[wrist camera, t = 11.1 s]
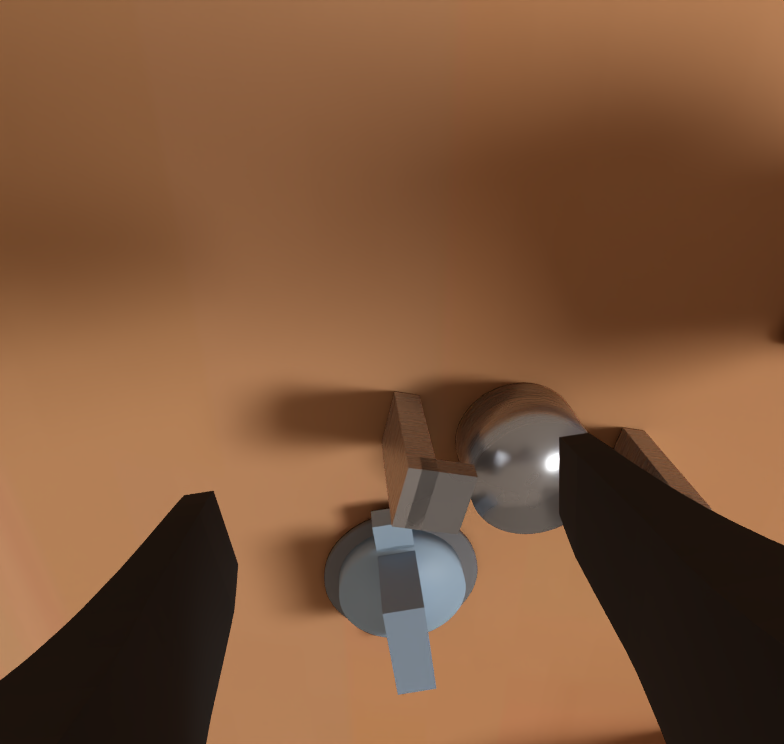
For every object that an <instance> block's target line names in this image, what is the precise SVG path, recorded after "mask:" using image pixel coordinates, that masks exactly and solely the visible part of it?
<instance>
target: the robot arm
mask: <svg viewBox="0 0 784 744" xmlns="http://www.w3.org/2000/svg"><path fill="white" fill-rule="evenodd" d="M559 515H560V518H561V521H562V523H563V526H564V529H565V531H566V534H567V537H568V539H569V542H570V544H571V547H572V549H573V552H574V555H575V557H576V559H577V561H578V563H579V565H580V567H581V568H582V570H583V572H584V574H585V576H586V578H587V580H588V582H589V583H590V585H591V587H592V589H593V591H594V593H595V595H596V596H597V598H598V600H599V602H600V604H601V606H602V608H603V609H604V611H605V613H606V615H607V617H608V619H609V620H610V622H611V624H612V626H613V628H614V630H615V632H616V633H617V635H618V637H619V639H620V641H621V643H622V644H623V646H624V648H625V650H626V652H627V654H628V656H629V658H630V660H631V662H632V664H633V666H634V668H635V670H636V672H637V674H638V677H639V679H640V681H641V684H642V686H643V688H644V691H645V693H646V696H647V698H648V700H649V703H650V705H651V707H652V710H653V712H654V715H655V717H656V719H657V722H658V724H659V727H660V729H661V732H662V734H663V737H664V739H665V742H666V744H784V545H782V544H780V543H777V542H775V541H773V540H770V539H768V538H766V537H764V536H762V535H760V534H758V533H756V532H753V531H751V530H749V529H747V528H745V527H743V526H741V525H739V524H737V523H735V522H733V521H731V520H729V519H727V518H725V517H723V516H721V515H719V514H717V513H715V512H714V511H712V510H710V509H708V508H706V507H705V506H703V505H701V504H699V503H698V502H696V501H694V500H692V499H690V498H689V497H687V496H685V495H684V494H682V493H680V492H679V491H677V490H675V489H674V488H672V487H670V486H669V485H667V484H665V483H664V482H662V481H661V480H659V479H657V478H656V477H654V476H653V475H651V474H650V473H648V472H647V471H645V470H643V469H642V468H640V467H639V466H637V465H636V464H634V463H633V462H631V461H630V460H628V459H627V458H625V457H624V456H622V455H621V454H620V453H618V452H617V451H615V450H614V449H612V448H611V447H609V446H608V445H606V444H605V443H603V442H602V441H600V440H599V439H597V438H596V437H594V436H593V435H591V434H590V433H583V434H576V435H570V436H563V437H559ZM237 572H238V563H237V560H236V557H235V554H234V551H233V548H232V545H231V542H230V539H229V536H228V533H227V530H226V527H225V524H224V521H223V518H222V515H221V512H220V509H219V506H218V503H217V500H216V497H215V494H214V491H209V492H203V493H196V494H190V495H184V496H183V497H182V498H181V499H180V500H179V502H178V503H177V504H176V505H175V506H174V507H173V508H172V510H171V511H170V512H169V513H168V514H167V515H166V517H165V518H164V519H163V520H162V521H161V522H160V524H159V525H158V526H157V527H156V528H155V530H154V531H153V532H152V533H151V534H150V535H149V537H148V538H147V539H146V540H145V541H144V542H143V543H142V545H141V546H140V547H139V548H138V549H137V550H136V551H135V553H134V554H133V555H132V556H131V557H130V558H129V559H128V561H127V562H126V563H125V564H124V565H123V566H122V567H121V569H120V570H119V571H118V572H117V573H116V574H115V575H114V576H113V577H112V578H111V579H110V580H109V581H108V582H107V583H106V584H105V585H104V586H103V587H102V588H101V590H100V591H99V592H98V593H97V594H96V595H95V596H94V597H93V598H92V599H91V600H90V601H89V602H88V603H87V604H86V605H85V606H84V607H83V608H82V609H81V610H80V611H79V612H78V613H77V614H76V615H75V616H74V617H73V618H72V619H71V620H70V621H69V622H68V623H67V624H66V625H65V626H64V627H63V628H61V629H60V630H59V631H58V632H57V633H56V634H55V635H54V636H53V637H51V638H50V639H49V640H48V641H47V642H46V643H45V644H44V645H43V646H41V647H40V648H39V649H38V650H37V651H36V652H35V653H33V654H32V655H31V656H30V657H29V658H28V659H26V660H25V661H24V662H23V663H22V664H20V665H19V666H18V667H17V668H15V669H14V670H13V671H12V672H10V673H9V674H8V675H7V676H5V677H4V678H3V679H2V680H0V744H206V741H207V736H208V730H209V725H210V719H211V715H212V710H213V706H214V701H215V697H216V692H217V688H218V683H219V679H220V674H221V670H222V665H223V661H224V656H225V652H226V647H227V642H228V638H229V633H230V628H231V624H232V619H233V614H234V607H235V597H236V586H237Z"/></svg>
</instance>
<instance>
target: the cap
mask: <svg viewBox="0 0 784 744" xmlns="http://www.w3.org/2000/svg"><path fill="white" fill-rule="evenodd" d="M371 519H372V529H373V534H374V536H372V537H370V538H368V539H366V540H364V541H363V542H361V543H360V544H358V545H357V546H356V547H355V548H354V549H353V550H352V551H351V552H350V553H349V554H348V555H347V557H346V558H345V560H344V562H343V564H342V566H341V569H340V574H339V600H340V605H341V608H342V611H343V612H344V614H345V616H346V617H347V618H348V620H349V621H350V622H351V623H353V624H354V625H355V626H356V627H358V628H359V629H361V630H363V631H365V632H367V633H370V634H373V635H376V636H381V637H387V640H388V645H389V650H390V655H391V661H392V666H393V671H394V676H395V682H396V687H397V692H398V695H399V694H405V693H411V692H418V691H424V690H430V689H436V684H435V677H434V670H433V663H432V656H431V649H430V642H429V635H428V632H429V631H432V630H434V629H436V628H438V627H439V626H441V625H442V624H444V623H445V622H447V621H448V620H449V619H450V618H451V617H452V616H453V615H454V614H455V613H456V612H457V610H458V609H459V608H460V606H461V604H462V602H463V599H464V596H465V591H466V583H465V578H464V574H463V570H462V566H461V562H460V559H459V557H458V555H457V553H456V551H455V550H454V549H453V547H452V546H451V545H450V544H449V543H447V542H446V541H445V540H443V539H442V538H440V537H438V536H436V535H434V534H432V533H429V532H425V531H421V530H414V529H407V528H399V527H392V525H391V517H390V509H384V510H377V511H371Z"/></svg>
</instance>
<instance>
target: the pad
mask: <svg viewBox="0 0 784 744" xmlns="http://www.w3.org/2000/svg"><path fill="white" fill-rule="evenodd" d="M414 530H416V529H414ZM421 531H424V530H421ZM425 532H429V533H432V534H434V535H436V536H438V537H440V538H442V539H443V540H445V541H446V542H447V543H449V544H450V545H451V546H452V547H453V549H454V550H455V551H456V553H457V555H458V557H459V559H460V562H461V566H462V570H463V574H464V578H465V583H466V591H465V596H464V599H463V602H464V601H465V600H466V599H467V597H468V596H469V594H470V593H471V591H472V589H473V587H474V585H475V581H476V578H477V560H476V556H475V553H474V550H473V547H472V545H471V543H470V542H469V540H468V539H467V537H466V536H465V535H464V534H463V533H462V532H461V531H460V530H459V533H458V534H450V533H441V532H433V531H425ZM372 536H374V534H373V529H372V519H370V520H368V521H366V522H363V523H361V524H359V525H358V526H356V527H355V528H353V529H351V530H350V531H349V532H347V533H346V534H345V535H344V536H343V537H342V538H341V539H340V540H339V541H338V542H337V543H336V545H335V546H334V547H333V549H332V550H331V552H330V554H329V556H328V559H327V562H326V566H325V576H324V578H325V588H326V592H327V595H328V597H329V599H330V601H331V602H332V604H333V606H334V607H335V608H336V609H337V610H338V611H339V612H340V613H341V614H342V615H343V616H345V614H344V612H343V611H342V608H341V605H340V600H339V574H340V569H341V566H342V564H343V562H344V560H345V558H346V557H347V555H348V554H349V553H350V552H351V551H352V550H353V549H354V548H355V547H356V546H357V545H358V544H360V543H361V542H363V541H364V540H366V539H368V538H370V537H372ZM463 602H462V604H463ZM462 604H461V605H462ZM345 617H346V616H345ZM346 618H347V617H346Z"/></svg>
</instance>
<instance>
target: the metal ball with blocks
mask: <svg viewBox="0 0 784 744" xmlns="http://www.w3.org/2000/svg"><path fill="white" fill-rule="evenodd" d="M583 433H588V432H587V431H586V429H585V428H584V426H583V425H582V423H581V422H580V421H579V419H578V418H577V416H576V415H575V413H574V412H573V411H572V409H571V408H570V406H569V405H568V403H567V402H566V401H565V400H564V399H563V398H562V396H560V395H559V394H558V393H556V392H555V391H553V390H551V389H549V388H547V387H544V386H541V385H537V384H530V383H517V384H510V385H506V386H502V387H500V388H497V389H494V390H492V391H490V392H488V393H487V394H485V395H484V396H482V397H481V398H479V399H478V400H477V401H476V402H474V403H473V404H472V405H471V407H470V408H469V409H468V410H467V411H466V413H465V414H464V416H463V417H462V419H461V421H460V423H459V426H458V428H457V432H456V440H455V444H456V451H457V455H458V459H459V462H453V461H446V460H439V459H436V458H435V454H434V450H433V446H432V442H431V439H430V435H429V431H428V427H427V423H426V419H425V415H424V411H423V408H422V404H421V400H420V396H419V395H414V394H407V393H401V392H394V395H393V399H392V403H391V407H390V411H389V415H388V419H387V423H386V427H385V431H384V435H383V439H382V451H383V460H384V468H385V476H386V484H387V492H388V500H389V508H390V517H391V525H392V527H399V528H407V529H416V530H424V531H433V532H441V533H450V534H458V533H459V530H460V528H461V525H462V522H463V519H464V516H465V513H466V510H467V507H468V505H469V502H470V499H471V500H472V502H473V505H474V507H475V509H476V510H477V512H478V514H479V515H480V516H481V517H482V518H483V519H484V520H485V521H486V522H488V523H489V524H491V525H492V526H494V527H496V528H498V529H501V530H504V531H507V532H511V533H518V534H533V533H541V532H545V531H549V530H552V529H555V528H558V527H560V526H562V525H563V523H562V521H561V518H560V515H559V437H563V436H570V435H576V434H583ZM614 450H615V451H617V452H618V453H620V454H621V455H622V456H624V457H625V458H627V459H628V460H630V461H631V462H633V463H634V464H636V465H637V466H639V467H640V468H642V469H643V470H645V471H647V472H648V473H650V474H651V475H653V476H654V477H656V478H657V479H659V480H661V481H662V482H664V483H665V484H667V485H669V486H670V487H672V488H674V489H675V490H677V491H679V492H680V493H682V494H684V495H685V496H687V497H689V498H690V499H692V500H694V501H696V502H698V503H699V504H701V505H703V506H705V507H706V508H708V509H710V510H711V508H710V506H709V505H708V504H707V503H706V502H705V501H704V499H703V498H702V497H701V496H700V495H699V494H698V492H697V491H696V490H695V489H694V488H693V487H692V486H691V484H690V483H689V482H688V481H687V480H686V479H685V477H684V476H683V475H682V474H681V473H680V472H679V470H678V469H677V468H676V467H675V466H674V465H673V463H672V462H671V461H670V460H669V459H668V458H667V456H666V455H665V454H664V453H663V452H662V451H661V449H660V448H659V447H658V446H657V445H656V444H655V442H654V441H653V440H652V439H651V438H650V437H649V435H648V434H647V433H646V432H645V431H641V430H635V429H628V428H623V429H622V431H621V433H620V436H619V438H618V440H617V442H616V444H615V447H614Z"/></svg>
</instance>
